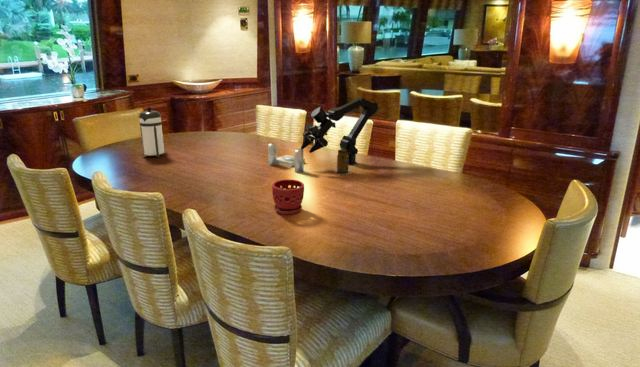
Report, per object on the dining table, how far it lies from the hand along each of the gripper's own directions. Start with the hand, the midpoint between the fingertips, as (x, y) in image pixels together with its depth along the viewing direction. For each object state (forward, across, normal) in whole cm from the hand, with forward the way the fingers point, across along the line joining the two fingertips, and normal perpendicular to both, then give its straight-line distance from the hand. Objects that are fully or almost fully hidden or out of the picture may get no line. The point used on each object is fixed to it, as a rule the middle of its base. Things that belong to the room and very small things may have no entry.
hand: (305, 150), depth 250 cm
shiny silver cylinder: (+11, 0, +5) cm, 12 cm away
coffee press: (+53, -78, -36) cm, 101 cm away
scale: (+8, -19, +8) cm, 22 cm away
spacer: (+15, -20, +1) cm, 25 cm away
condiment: (-3, +13, +19) cm, 23 cm away
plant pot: (+34, +50, -17) cm, 63 cm away
